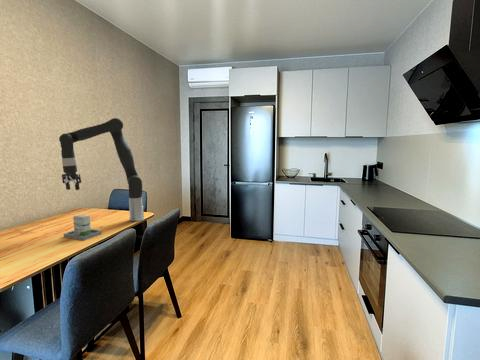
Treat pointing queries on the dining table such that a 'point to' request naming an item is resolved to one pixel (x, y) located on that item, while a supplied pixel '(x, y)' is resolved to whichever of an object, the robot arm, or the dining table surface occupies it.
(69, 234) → the tray
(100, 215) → the dining table surface
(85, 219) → the ink box
